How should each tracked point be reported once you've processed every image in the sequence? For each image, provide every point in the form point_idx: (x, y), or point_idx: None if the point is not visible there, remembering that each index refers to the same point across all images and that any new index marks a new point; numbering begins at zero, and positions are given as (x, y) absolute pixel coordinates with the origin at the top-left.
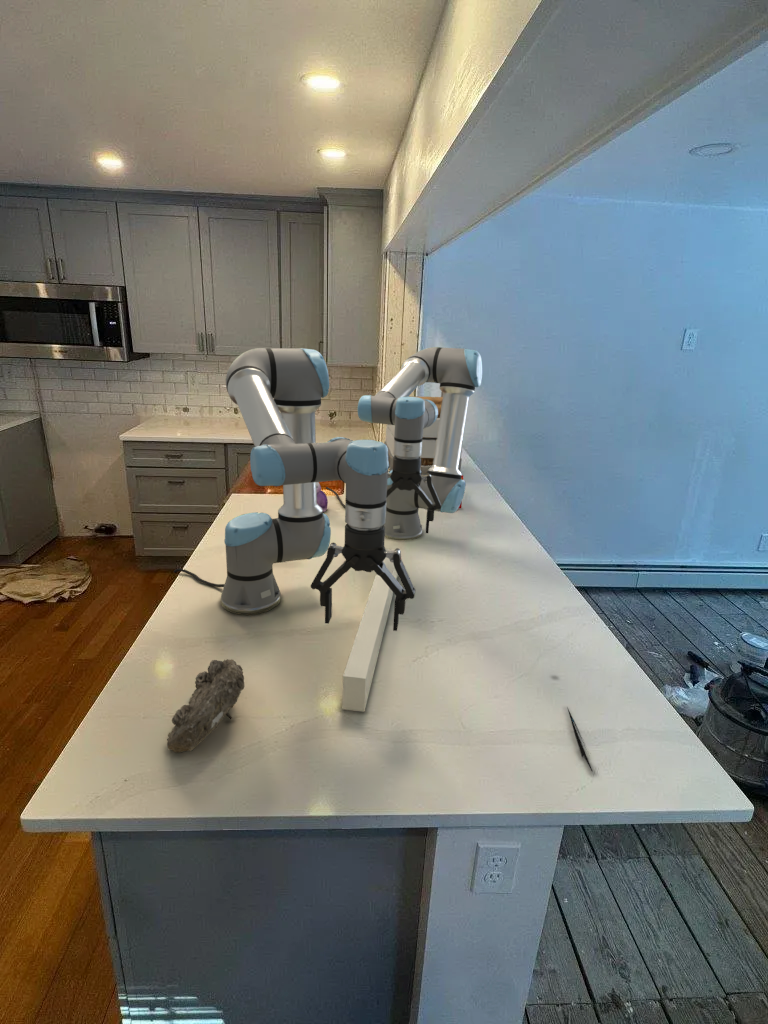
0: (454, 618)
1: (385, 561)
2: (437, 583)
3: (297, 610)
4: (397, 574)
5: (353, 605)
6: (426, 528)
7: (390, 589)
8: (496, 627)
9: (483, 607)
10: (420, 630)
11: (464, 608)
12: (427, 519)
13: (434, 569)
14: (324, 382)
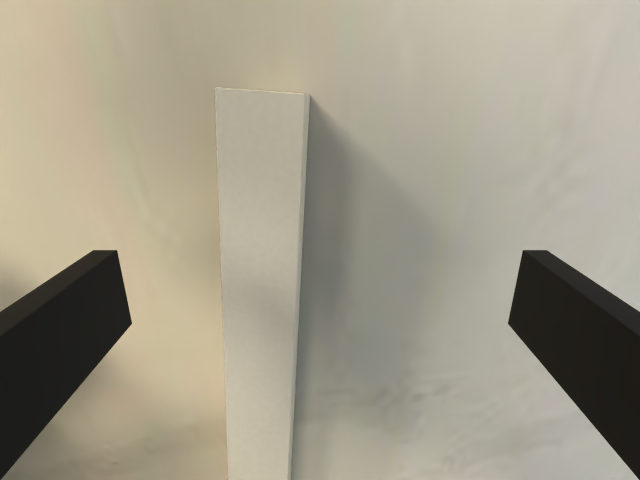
0: (484, 376)
1: (245, 258)
2: (471, 162)
3: None
4: (308, 123)
5: (187, 348)
6: (534, 349)
7: (292, 403)
8: None
9: None
10: (383, 433)
11: None
12: (597, 419)
13: (481, 14)
14: None
